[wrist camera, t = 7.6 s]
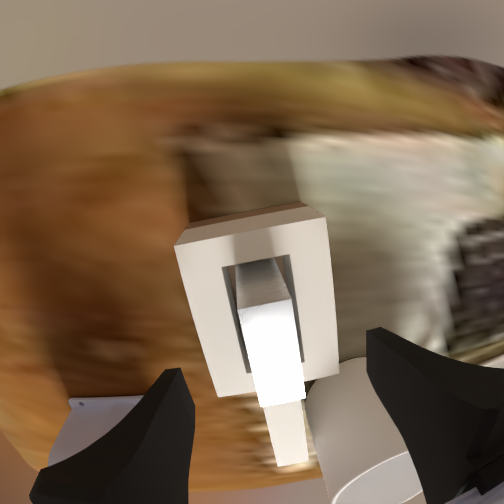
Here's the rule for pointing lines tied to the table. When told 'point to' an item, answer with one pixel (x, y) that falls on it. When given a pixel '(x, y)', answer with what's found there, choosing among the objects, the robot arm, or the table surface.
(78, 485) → the robot arm
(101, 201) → the table surface
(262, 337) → the white upright block
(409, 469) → the mug
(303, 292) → the slotted upright plate
